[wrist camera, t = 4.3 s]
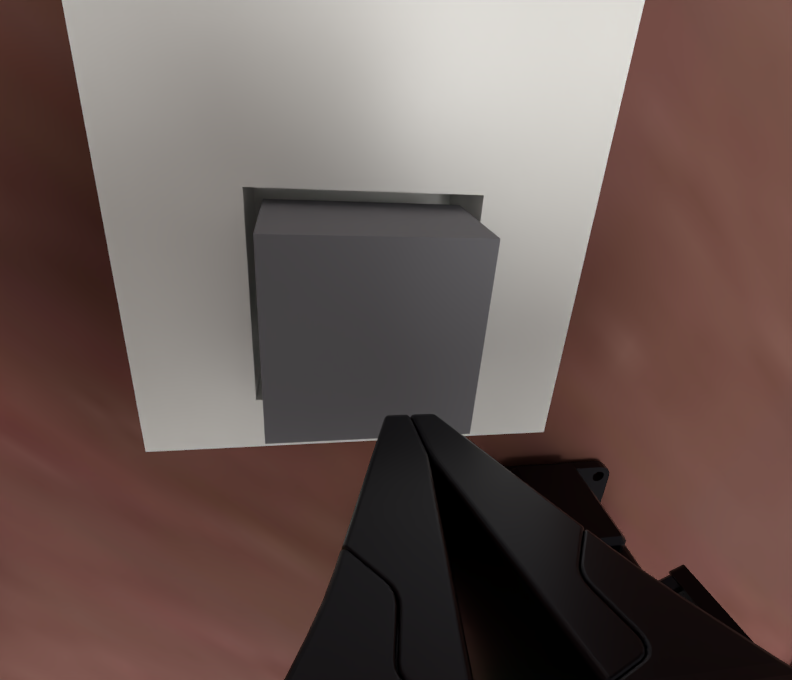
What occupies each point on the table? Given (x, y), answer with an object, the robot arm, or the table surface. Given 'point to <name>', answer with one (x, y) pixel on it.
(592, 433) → the table surface
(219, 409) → the white base plate
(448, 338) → the key
